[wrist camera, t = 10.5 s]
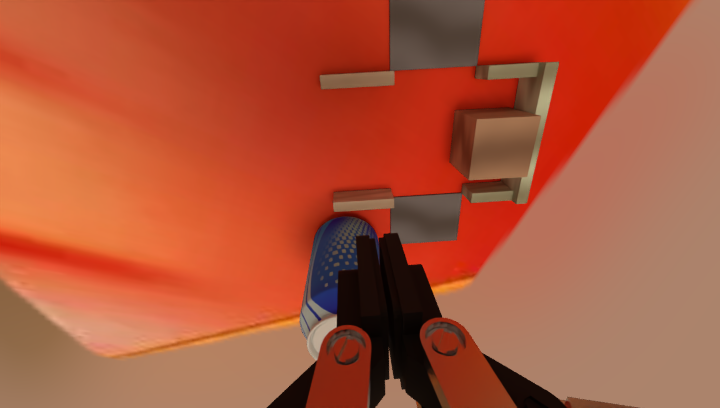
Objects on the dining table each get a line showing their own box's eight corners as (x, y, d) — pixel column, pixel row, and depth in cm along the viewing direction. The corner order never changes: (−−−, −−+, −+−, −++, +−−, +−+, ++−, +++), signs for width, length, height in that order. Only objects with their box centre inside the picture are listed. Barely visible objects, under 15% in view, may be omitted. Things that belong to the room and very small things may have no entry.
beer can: (306, 255, 39) (283, 365, 25) (326, 203, 36) (312, 296, 21) (363, 270, 41) (373, 383, 26) (387, 222, 37) (413, 321, 23)
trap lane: (313, -9, 26) (308, -21, 22) (549, -22, 26) (581, -35, 23) (339, 247, 39) (338, 265, 35) (499, 236, 39) (515, 253, 35)
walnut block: (454, 110, 31) (476, 119, 26) (507, 107, 32) (541, 115, 26) (449, 162, 34) (468, 180, 29) (498, 159, 34) (527, 177, 29)
